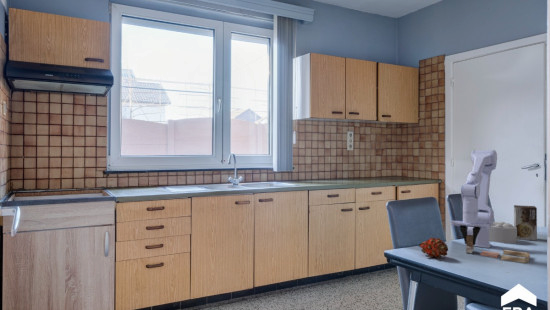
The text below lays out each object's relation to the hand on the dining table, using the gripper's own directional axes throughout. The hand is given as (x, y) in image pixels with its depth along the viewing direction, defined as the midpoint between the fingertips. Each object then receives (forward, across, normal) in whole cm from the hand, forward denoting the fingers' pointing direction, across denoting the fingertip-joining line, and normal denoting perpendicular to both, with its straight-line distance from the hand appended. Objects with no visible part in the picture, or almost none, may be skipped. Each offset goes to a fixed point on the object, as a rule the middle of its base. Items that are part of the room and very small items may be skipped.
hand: (470, 244), depth 167 cm
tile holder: (+3, +16, 0) cm, 16 cm away
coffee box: (+4, +18, +45) cm, 49 cm away
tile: (+4, +8, 0) cm, 8 cm away
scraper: (+3, 0, 0) cm, 3 cm away
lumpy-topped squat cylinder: (+4, +9, +33) cm, 35 cm away
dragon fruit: (+4, -11, -17) cm, 21 cm away
